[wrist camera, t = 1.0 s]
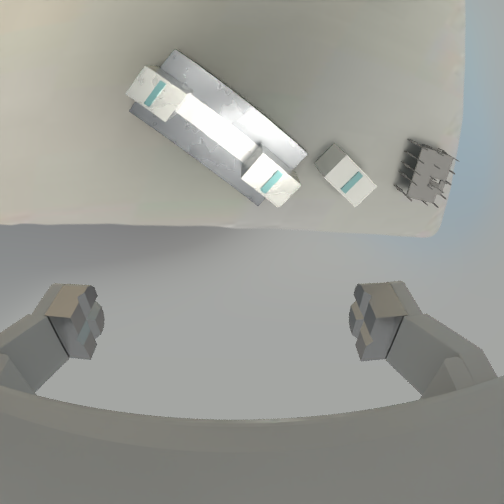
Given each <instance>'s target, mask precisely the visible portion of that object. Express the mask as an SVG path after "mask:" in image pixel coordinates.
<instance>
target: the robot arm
mask: <svg viewBox="0 0 504 504" xmlns="http://www.w3.org/2000/svg"><path fill="white" fill-rule="evenodd" d="M354 296H355V299H356V301H355V302H354V303H353V304H352V305H351V308H350V312H349V325H350V330H351V333H352V335H353V336H355V337H356V338H357V342H356V348H357V351H358V354H359V357H360V360H361V361H369V360H380V359H386V361H387V362H388V363H389V364H390V365H391V366H392V367H393V368H394V369H396V370H397V372H399V373H400V374H401V375H402V376H403V377H404V378H405V379H406V380H407V381H408V382H409V383H410V384H411V385H412V386H413V387H414V388H415V389H416V390H417V391H418V392H419V393H420V394H421V395H422V396H421V398H420V399H419V400H416V401H412V402H407V403H402V404H397V405H392V406H386V407H380V408H374V409H368V410H362V411H354V412H347V413H340V414H331V415H322V416H311V417H298V418H284V419H258V420H214V419H190V418H173V417H161V416H151V415H142V414H133V413H125V412H118V411H111V410H105V409H98V408H93V407H87V406H82V405H77V404H72V403H67V402H62V401H58V400H53V399H49V398H45V397H41V396H37V395H36V394H35V392H36V391H37V390H38V389H39V388H40V387H41V386H42V385H43V384H44V383H45V382H46V381H47V380H48V379H49V378H50V377H51V376H52V375H53V374H54V373H55V372H56V371H57V370H58V369H59V368H60V367H61V366H62V365H63V364H64V363H65V362H66V361H67V360H69V358H78V359H89V360H91V358H92V355H93V353H94V350H95V348H96V345H97V343H96V341H95V338H97V337H98V336H99V335H101V333H102V331H103V328H104V313H103V310H102V307H101V306H100V305H99V304H98V303H97V302H96V301H95V300H96V298H97V293H96V290H95V288H94V287H93V286H91V285H77V284H57V283H55V284H52V285H51V286H50V287H49V289H48V291H47V292H46V293H45V295H44V296H43V298H42V299H41V301H40V302H39V304H38V305H37V307H36V308H35V310H34V312H33V313H32V315H30V314H28V315H26V316H25V317H23V318H22V319H20V320H19V321H17V322H16V323H14V324H13V325H11V326H10V327H8V328H7V329H5V330H4V331H2V332H1V333H0V504H504V376H501V377H497V375H496V373H495V372H494V370H493V368H492V366H491V364H490V363H489V361H488V359H487V357H486V356H485V354H484V352H483V350H482V349H480V348H479V347H477V346H476V345H474V344H473V343H471V342H470V341H468V340H467V339H465V338H464V337H462V336H461V335H459V334H457V333H456V332H454V331H453V330H451V329H450V328H448V327H447V326H445V325H444V324H442V323H440V322H439V321H437V320H436V319H434V318H433V317H431V316H429V315H428V314H423V313H422V312H421V310H420V308H419V307H418V305H417V303H416V302H415V300H414V298H413V297H412V295H411V293H410V292H409V290H408V288H407V287H406V285H405V283H404V282H402V281H393V282H387V283H367V284H357V286H356V288H355V291H354Z"/></svg>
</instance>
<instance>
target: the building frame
mask: <svg viewBox="0 0 504 504" xmlns="http://www.w3.org/2000/svg"><path fill="white" fill-rule="evenodd" d="M408 140H409V139H408ZM410 141H411V143H414V144H415V145H418V146H420V147H421V150H420V154H419V157H418V158H416V157H414V155H413V154H411V153H408V152H407V151H405V152H406V153H408V155H409V156H411V157H414V158H415V159H417V164H416V167H415V170H414V169H412V168H411V167H410V166H409V165H408V164H405V163H404V162H402V161H401V162H402V163H403V164H405V165H404V166H406V167H407V168H410V169H412V170H413V171H414V173H413V176H412V179H410V178H408V177H407V175H406V174H405V173H402V172H401V171H399V172H400V173H401V174H402V175H403V176H404V177H405V178H408V179H409V180H410V181H411V182H410V185H409V188H408V191H407V194H405V193H404V192H403V190H402V189H401V188H399V187H398V186H397V185H396V186H397V190H399V191H400V192H402V193H403V194H404V195H405V196H406V197H407V198H408V199H409V200H411V199H410V198H414V199H417V200H421V201H423V202H424V201H425V202H429V203H433V204H434V205H435V206H436V207H437V208H438V206H437V205H436V204H435V203H434V200H435V197H436V195H437V194H438V195H441V193H444V192H442V191H443V188H444V185H445V183H446V182H447V181H446V179H447V176H448V173H449V171H450V172H452V171H451V170H450V167H451V164H452V161H453V159H455V158H453V157H451V156H450V155H448V154H447V153H446V152H444V150H442V152H441V153H440V151H439V150H438V151H439V152H437V151H436V150H434V149H432V147H430V146H426V145H425V144H423V145H425V146H426V147H423V146H421V145H419V144H417V142H415V141H413V140H410ZM438 149H439V148H438ZM440 150H441V149H440ZM455 160H456V159H455ZM452 173H453V174H455V173H454V172H452ZM434 178H436V179H439V180H440V181H439V184H438V183H436V182H434V181H432V180H430V179H434ZM434 180H435V179H434ZM435 181H437V180H435ZM447 183H448V184H449V185H451V184H450V183H449V182H447ZM447 183H446V184H447ZM429 184H430V185H432V186H430V185H429ZM394 186H395V185H394ZM441 196H442V197H443V198H444V199H446V198H445V197H444V196H443V195H441ZM411 201H412V200H411ZM425 202H424V203H425ZM425 204H426V203H425ZM426 205H427V204H426Z"/></svg>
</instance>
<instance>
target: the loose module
mask: <svg viewBox="0 0 504 504" xmlns="http://www.w3.org/2000/svg"><path fill="white" fill-rule="evenodd" d="M314 164H315V165H316V167H317V168H318V170H319V171H320V173H321V174H322V175H323V177H324V178H325V179H326V180H327V181H328V182H329V183H330V184H331V185H332V186H333V187H334V188H336V189H337V190H338V191H339V192H340V193H341V194H342V195H343V196H344V197H345V198H346V199H347V200H348V201H349V202H350V203H351V204H352V205H353V206H354V207H356V206H358V205H359V204H360V203H361V202H362V201H363V200H364V199H365V198H366V197H367V196H368V195H369V194H370V193H371V192H372V191H373V190H374V189H375V188H376V187H377V186H376V185H375V184H374V183H373V181H372V180H371V179H370V178H369V177H368V176H367V175H366V174H365V173H364V172H363V171H362V170H361V169H360V168H359V167H358V166H357V164H356V163H355V162H354V161H353V160H352V159H351V158H350V157H349V156H348V155H347V154H346V153H345V152H343V151H342V150H341V149H340V148H339V147H338V146H337V145H336V144H335V143H334V144H333V145H332V146H331V147H330V148H329V149H328V150H327V151H326V152H325V153H324V154H323V155H322V156H321V157H320V158H319V159H318V160H317V161H316V162H315V163H314Z"/></svg>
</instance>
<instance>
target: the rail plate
mask: <svg viewBox="0 0 504 504" xmlns="http://www.w3.org/2000/svg"><path fill="white" fill-rule="evenodd" d="M126 95H127V96H129V97H130V98H132V99H133V100H135V103H134V104H133V106H132V107H131V109H130V110H129V111H130V112H131V113H132V114H134V115H135V116H137V117H138V118H139V119H141V120H142V121H144V122H145V123H147V124H148V125H149V126H151V127H152V128H154V129H155V130H156V131H158V132H159V133H161V134H162V135H163V136H165V137H166V138H168V139H169V140H170V141H172V142H173V143H174V144H176V145H177V146H179V147H180V148H181V149H183V150H184V151H185V152H187V153H188V154H190V155H191V156H192V157H194V158H195V159H196V160H198V161H199V162H200V163H202V164H203V165H204V166H206V167H207V168H209V169H210V170H211V171H213V172H214V173H215V174H217V175H218V176H219V177H221V178H222V179H223V180H225V181H226V182H227V183H228V184H230V185H231V186H232V187H234V188H235V189H236V190H238V191H239V192H240V193H242V194H243V195H244V196H246V197H247V198H248V199H249V200H251V201H252V202H253V203H255V204H256V205H257V206H259V205H260V204H261V202H262V201H263V200H264V199H265V198H267V199H268V200H269V201H270V202H272V203H273V204H274V205H275V206H277V207H278V208H280V207H281V205H282V204H283V203H284V202H285V201H286V200H287V199H288V198H289V197H290V196H291V195H292V194H293V193H294V192H295V191H296V190H297V189H298V188H299V187H300V186H301V183H300V181H299V179H298V177H297V175H296V172H295V171H293V169H294V168H295V167H296V166H297V165H298V164H299V163H300V162H301V161H302V160H303V159H304V158H305V156H306V155H307V154H308V153H307V152H306V151H305V150H304V149H303V148H302V147H301V146H300V145H299V144H297V143H296V142H295V141H294V140H293V139H292V138H291V137H289V136H288V135H287V134H286V133H285V132H284V131H282V130H281V129H280V128H279V127H278V126H277V125H275V124H274V123H273V122H272V121H271V120H269V119H268V118H267V117H266V116H265V115H263V114H262V113H261V112H260V111H259V110H257V109H256V108H255V107H254V106H252V105H251V104H250V103H249V102H247V101H246V100H245V99H244V98H242V97H241V96H240V95H238V94H237V93H236V92H235V91H233V90H232V89H231V88H229V87H228V86H227V85H225V84H224V83H223V82H221V81H220V80H219V79H217V78H216V77H215V76H213V75H212V74H211V73H209V72H208V71H206V70H205V69H204V68H202V67H201V66H200V65H198V64H197V63H195V62H194V61H192V60H191V59H190V58H188V57H187V56H185V55H184V54H182V53H181V52H179V51H178V50H176V49H174V50H173V52H172V53H171V54H170V55H169V57H168V58H167V59H166V60H165V62H164V63H163V64H162V66H161V67H158V66H145V67H144V68H143V69H142V71H141V72H140V73H139V75H138V76H137V78H136V79H135V80H134V82H133V83H132V85H131V86H130V88H129V89H128V91H127V92H126Z"/></svg>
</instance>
